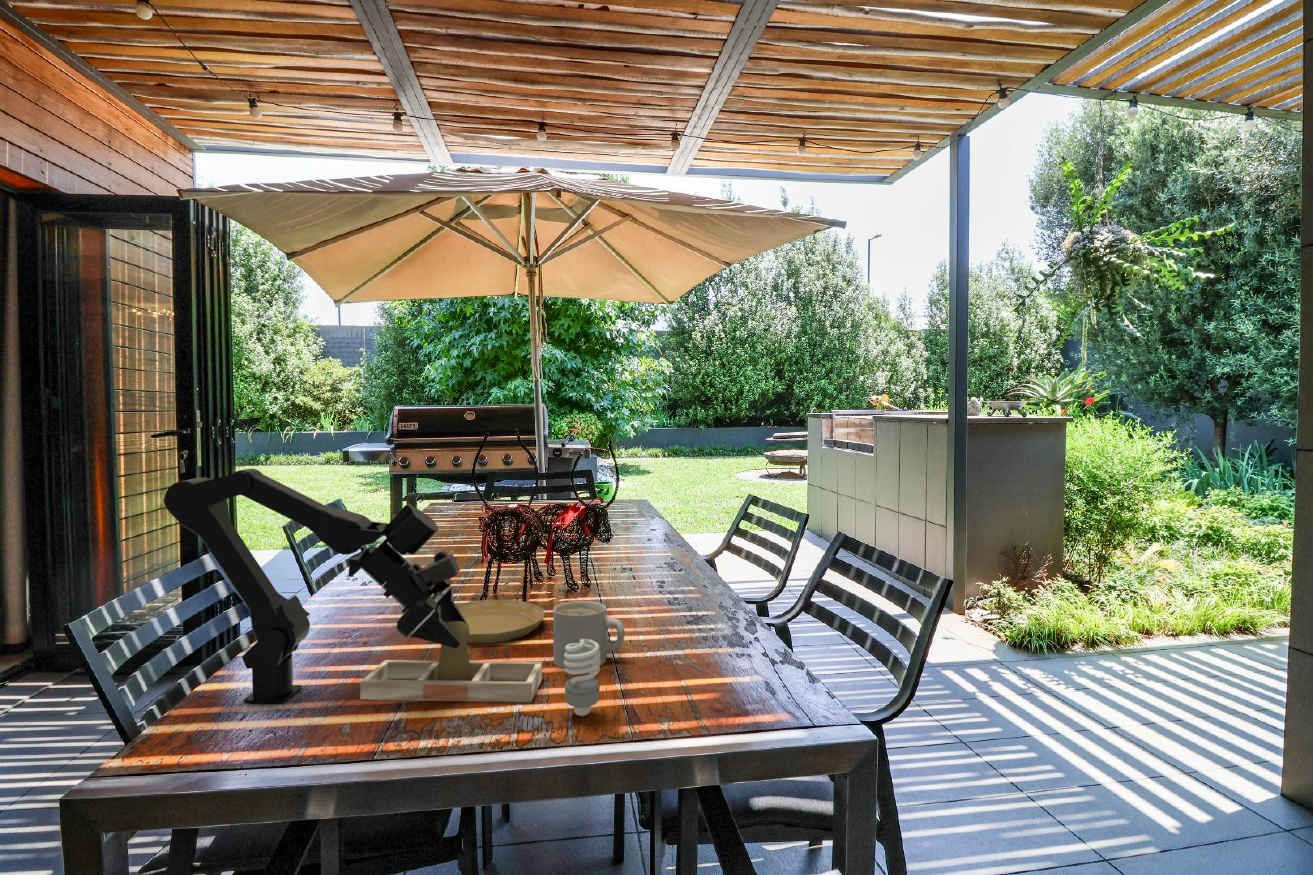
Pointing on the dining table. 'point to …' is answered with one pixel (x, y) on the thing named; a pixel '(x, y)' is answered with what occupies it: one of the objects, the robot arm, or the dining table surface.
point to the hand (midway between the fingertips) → (462, 637)
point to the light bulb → (586, 687)
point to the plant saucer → (499, 620)
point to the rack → (452, 682)
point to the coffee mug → (583, 628)
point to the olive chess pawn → (455, 656)
